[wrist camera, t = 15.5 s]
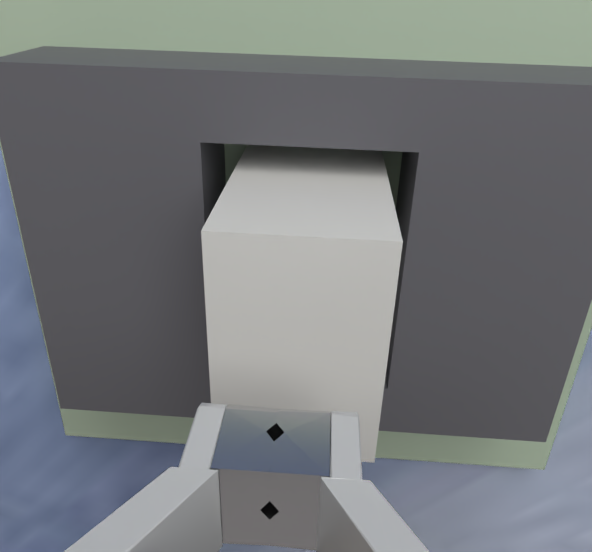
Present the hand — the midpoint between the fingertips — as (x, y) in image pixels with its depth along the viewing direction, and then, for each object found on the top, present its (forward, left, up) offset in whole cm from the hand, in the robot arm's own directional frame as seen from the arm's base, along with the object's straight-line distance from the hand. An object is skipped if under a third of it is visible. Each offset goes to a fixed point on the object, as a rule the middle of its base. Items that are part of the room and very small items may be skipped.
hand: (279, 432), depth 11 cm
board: (0, 0, -10) cm, 10 cm away
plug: (0, 0, -9) cm, 9 cm away
